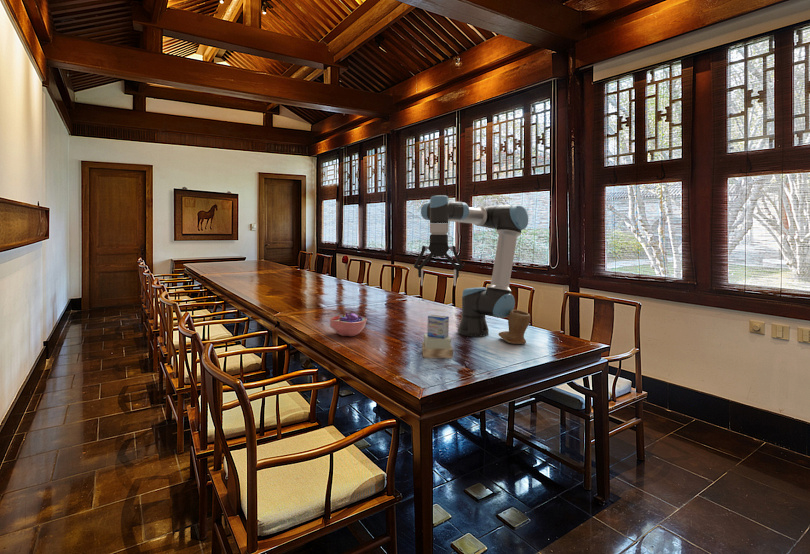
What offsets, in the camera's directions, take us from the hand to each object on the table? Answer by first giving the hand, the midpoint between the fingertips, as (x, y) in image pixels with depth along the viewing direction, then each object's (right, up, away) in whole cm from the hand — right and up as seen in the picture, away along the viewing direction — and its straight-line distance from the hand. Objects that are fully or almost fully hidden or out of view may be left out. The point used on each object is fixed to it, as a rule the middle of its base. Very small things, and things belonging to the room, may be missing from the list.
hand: (438, 285), depth 187 cm
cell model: (-42, -25, +33) cm, 59 cm away
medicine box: (0, -21, +1) cm, 21 cm away
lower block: (0, -29, +2) cm, 29 cm away
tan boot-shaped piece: (+37, -27, +23) cm, 52 cm away
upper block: (0, -25, +2) cm, 25 cm away
